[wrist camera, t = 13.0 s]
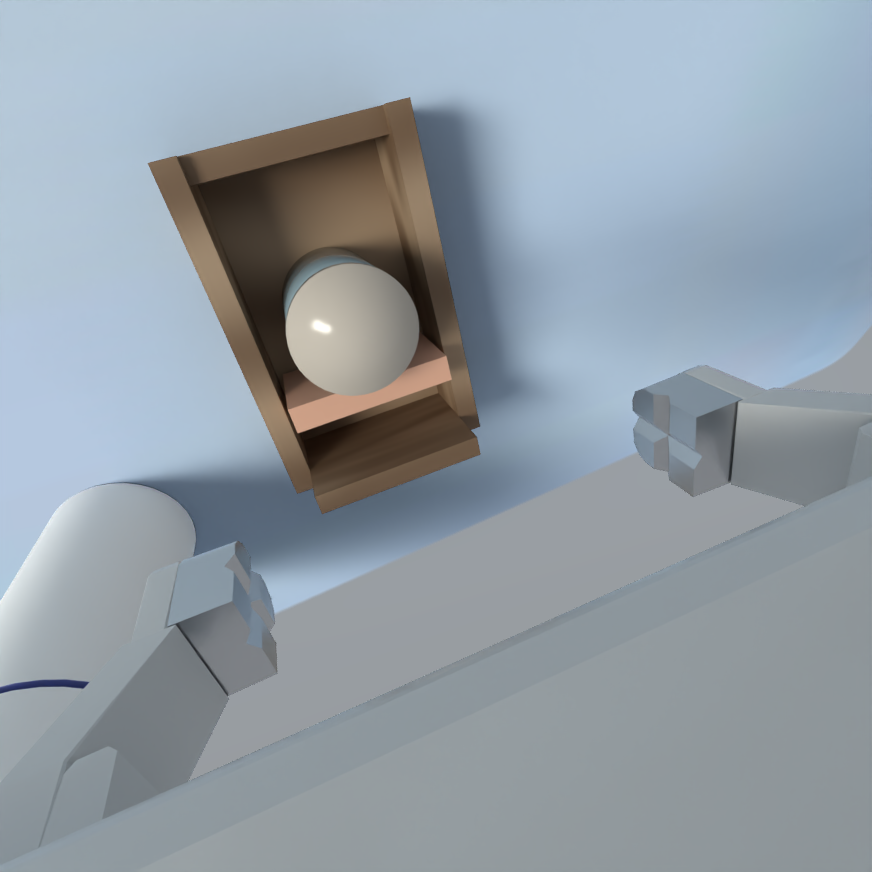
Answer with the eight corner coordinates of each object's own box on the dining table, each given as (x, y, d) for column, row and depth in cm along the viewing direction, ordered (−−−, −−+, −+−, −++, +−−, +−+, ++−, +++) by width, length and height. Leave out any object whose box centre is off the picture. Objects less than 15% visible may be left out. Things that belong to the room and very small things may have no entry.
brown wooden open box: (164, 166, 22) (133, 160, 16) (386, 109, 23) (428, 87, 18) (292, 456, 29) (301, 521, 24) (454, 398, 31) (499, 447, 25)
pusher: (282, 374, 26) (287, 410, 22) (417, 329, 28) (446, 355, 23) (291, 395, 27) (297, 433, 23) (423, 350, 28) (451, 379, 24)
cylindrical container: (211, 498, 29) (86, 1403, 7) (177, 597, 31) (5, 1531, 10) (60, 469, 26) (-882, 1865, 4) (35, 581, 28) (-694, 1907, 6)
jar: (262, 262, 24) (264, 287, 18) (368, 231, 25) (400, 247, 19) (301, 363, 27) (313, 412, 21) (396, 332, 27) (431, 372, 22)
